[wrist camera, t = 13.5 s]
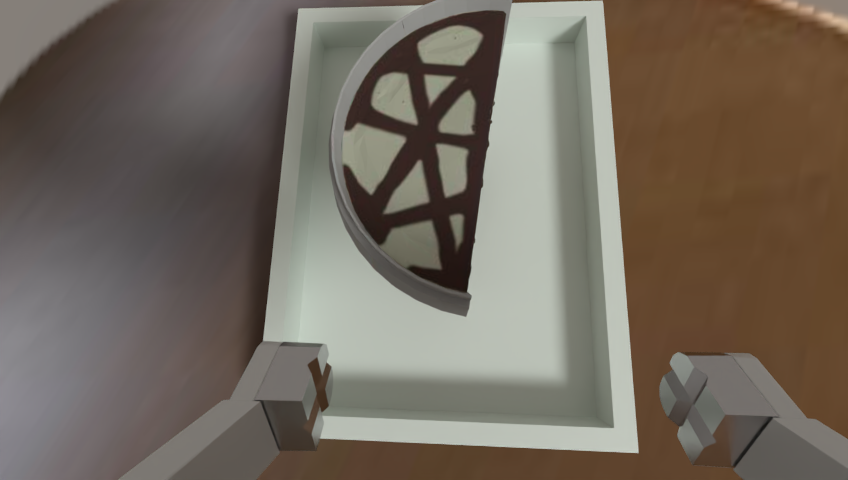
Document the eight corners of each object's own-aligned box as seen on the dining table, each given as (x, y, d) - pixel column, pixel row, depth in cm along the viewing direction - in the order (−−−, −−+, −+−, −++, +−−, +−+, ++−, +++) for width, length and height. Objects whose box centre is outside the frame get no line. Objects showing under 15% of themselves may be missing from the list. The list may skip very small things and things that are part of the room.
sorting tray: (279, 420, 22) (253, 435, 19) (314, 42, 27) (298, 8, 24) (611, 435, 21) (638, 452, 18) (585, 37, 26) (602, 0, 23)
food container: (390, 104, 25) (353, -38, 15) (489, 116, 24) (516, -24, 15) (351, 301, 22) (276, 284, 13) (460, 319, 22) (469, 315, 12)
